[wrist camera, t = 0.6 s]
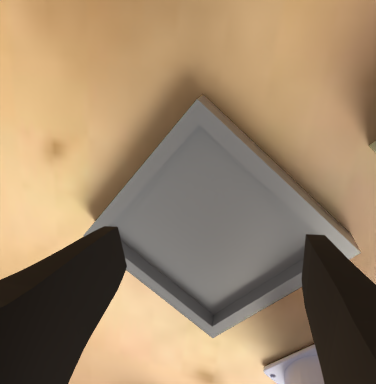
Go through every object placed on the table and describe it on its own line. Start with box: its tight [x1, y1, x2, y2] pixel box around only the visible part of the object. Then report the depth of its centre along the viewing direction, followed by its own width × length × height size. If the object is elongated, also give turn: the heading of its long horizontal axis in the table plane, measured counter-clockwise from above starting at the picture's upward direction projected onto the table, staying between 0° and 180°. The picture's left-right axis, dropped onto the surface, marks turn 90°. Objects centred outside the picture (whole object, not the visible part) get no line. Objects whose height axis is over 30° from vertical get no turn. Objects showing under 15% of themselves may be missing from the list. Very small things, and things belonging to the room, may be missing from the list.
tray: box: [84, 95, 361, 338], centre depth 21 cm, size 14×14×2 cm
